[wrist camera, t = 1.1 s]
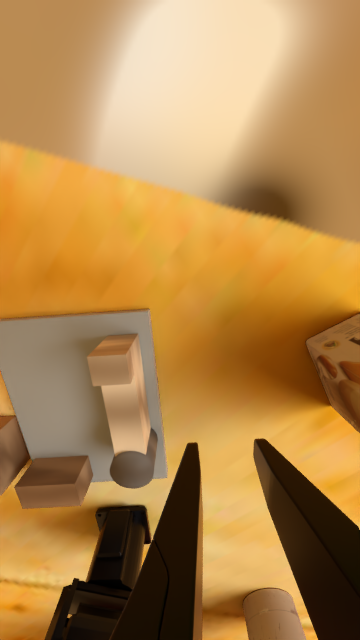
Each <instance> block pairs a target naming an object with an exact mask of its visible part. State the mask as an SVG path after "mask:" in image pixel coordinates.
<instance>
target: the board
mask: <svg viewBox="0 0 360 640" xmlns="http://www.w3.org/2000/svg"><path fill="white" fill-rule="evenodd" d="M124 334H138V335H139V342H140V350H141V357H142V365H143V373H144V380H145V388H146V395H147V403H148V410H149V418H150V425H151V428H152V429H153V430H154V431H155V432H156V434H157V437H158V442H157V450H156V459H155V467H154V475H153V478H152V479H159V478H167V473H168V468H167V459H166V450H165V441H164V433H163V424H162V415H161V406H160V397H159V388H158V379H157V370H156V362H155V353H154V344H153V335H152V326H151V317H150V309H141V310H126V311H112V312H97V313H82V314H68V315H53V316H38V317H24V318H9V319H0V371H1V374H2V376H3V379H4V382H5V385H6V388H7V391H8V394H9V397H10V399H11V402H12V405H13V408H14V411H15V414H16V417H17V419H18V422H19V425H20V428H21V431H22V434H23V437H24V440H25V442H26V445H27V448H28V451H29V454H30V457H31V460H32V463H33V461H34V460H35V459H36V458H52V457H70V456H89V460H90V464H91V468H92V472H93V478H92V480H91V482H104V481H114V480H113V479H112V478H111V475H110V466H111V463H112V460H113V457H114V454H115V453H114V448H113V443H112V438H111V433H110V428H109V423H108V418H107V413H106V408H105V403H104V398H103V393H102V388H101V386H93V383H92V379H91V374H90V369H89V365H88V360H87V356H88V355H89V354H90V353H91V352H92V351H93V350H94V349H95V348H96V347H97V346H98V345H99V344H100V343H101V342H102V341H103V340H104V339H105V338H106V337H107V336H109V335H124Z"/></svg>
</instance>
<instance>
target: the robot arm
mask: <svg viewBox="0 0 360 640" xmlns="http://www.w3.org/2000/svg"><path fill="white" fill-rule="evenodd" d="M253 455H254V461H255V465H256V468H257V472H258V475H259V479H260V482H261V486H262V489H263V493H264V496H265V500H266V503H267V506H268V509H269V512H270V515H271V517H272V520H273V523H274V525H275V528H276V531H277V533H278V536H279V538H280V541H281V544H282V546H283V549H284V551H285V554H286V557H287V559H288V562H289V564H290V567H291V570H292V572H293V575H294V578H295V580H296V583H297V585H298V588H299V591H300V593H301V596H302V598H303V601H304V604H305V606H306V609H307V612H308V614H309V617H310V619H311V622H312V625H313V627H314V630H315V632H316V635H317V638H318V640H360V530H359V527H358V526H357V525H356V524H355V523H354V522H353V521H352V520H350V519H349V518H348V517H347V516H346V515H345V514H344V513H343V512H342V511H341V510H340V509H339V508H338V507H337V506H336V505H335V504H333V503H332V502H331V501H330V500H329V499H328V498H327V497H326V496H325V495H324V494H323V493H322V492H321V491H320V490H319V489H318V488H317V487H315V486H314V485H313V484H312V483H311V482H310V481H309V480H308V479H307V478H306V477H305V476H304V475H303V474H302V473H301V472H300V471H298V470H297V469H296V468H295V467H294V466H293V465H292V464H291V463H290V462H289V461H288V460H287V459H286V458H285V457H284V456H283V455H282V454H280V453H279V452H278V451H277V450H276V449H275V448H274V447H273V446H272V445H271V444H270V443H269V442H268V441H267V440H265V439H255V440H254V453H253ZM96 519H97V523H98V527H99V531H100V535H99V538H98V541H97V545H96V548H95V551H94V555H93V558H92V562H91V565H90V568H89V572H88V575H87V579H86V582H84V581H79V579H77V578H74V580H73V583H72V585H69V586H65V587H64V588H63V590H62V593H61V596H60V599H59V602H58V604H57V607H56V610H55V613H54V615H53V618H52V621H51V624H50V626H49V629H48V632H47V634H46V637H45V640H202V575H203V505H202V486H201V469H200V460H199V451H198V444H197V443H196V442H194V443H188V444H187V446H186V449H185V451H184V454H183V457H182V460H181V462H180V465H179V468H178V471H177V473H176V476H175V479H174V482H173V484H172V487H171V490H170V493H169V495H168V498H167V501H166V503H165V506H164V509H163V512H162V514H161V517H160V520H159V523H158V525H157V528H156V531H155V534H154V536H153V540H152V541H151V533H150V527H149V521H148V514H147V509H146V508H145V507H126V508H107V509H98V510H97V512H96ZM150 543H151V544H150ZM144 544H150V547H149V550H148V552H147V555H146V558H145V560H144V563H143V565H142V568H141V563H142V555H143V547H144ZM68 614H71V615H72V616H71V617H70V618H67V616H68Z"/></svg>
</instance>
